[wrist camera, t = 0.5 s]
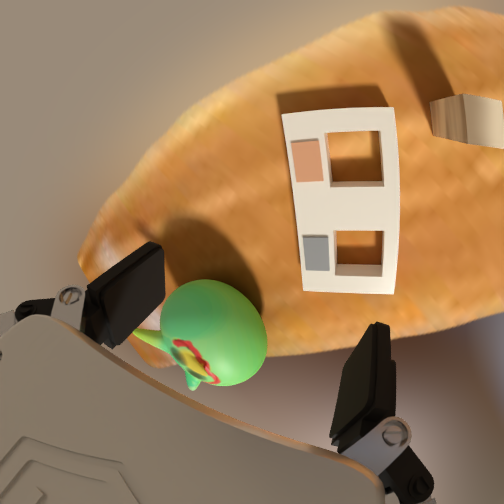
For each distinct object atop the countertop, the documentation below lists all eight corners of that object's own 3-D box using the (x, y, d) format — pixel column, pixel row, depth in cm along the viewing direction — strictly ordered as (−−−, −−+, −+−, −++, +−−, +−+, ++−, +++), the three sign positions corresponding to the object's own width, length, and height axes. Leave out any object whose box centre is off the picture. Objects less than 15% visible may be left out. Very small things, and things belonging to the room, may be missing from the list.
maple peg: (459, 105, 20) (501, 100, 11) (462, 138, 21) (505, 149, 12) (429, 102, 21) (462, 93, 12) (433, 135, 23) (467, 143, 14)
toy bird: (295, 339, 44) (266, 410, 32) (221, 350, 53) (185, 404, 41) (241, 249, 40) (186, 310, 28) (170, 278, 48) (118, 327, 36)
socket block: (390, 108, 24) (393, 107, 21) (392, 281, 33) (393, 295, 30) (288, 115, 29) (280, 114, 26) (307, 278, 38) (302, 292, 35)
